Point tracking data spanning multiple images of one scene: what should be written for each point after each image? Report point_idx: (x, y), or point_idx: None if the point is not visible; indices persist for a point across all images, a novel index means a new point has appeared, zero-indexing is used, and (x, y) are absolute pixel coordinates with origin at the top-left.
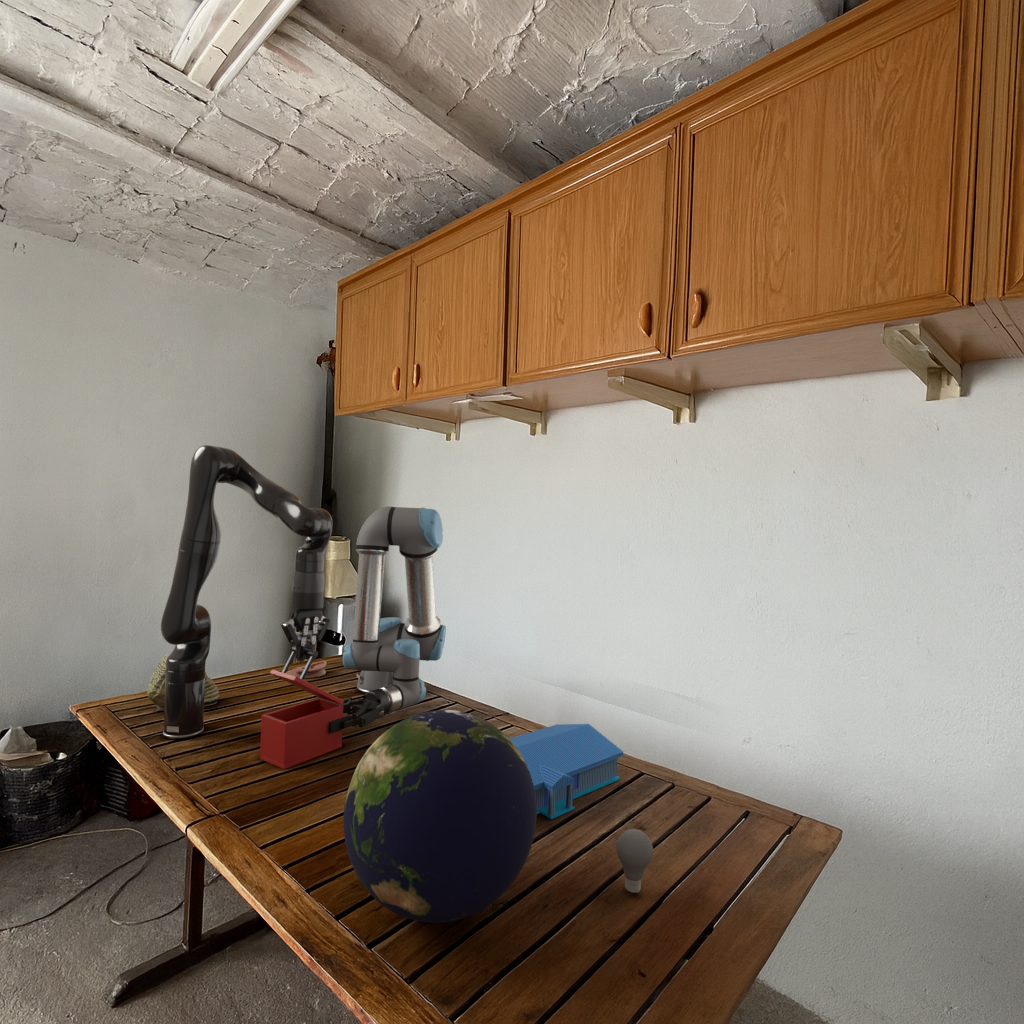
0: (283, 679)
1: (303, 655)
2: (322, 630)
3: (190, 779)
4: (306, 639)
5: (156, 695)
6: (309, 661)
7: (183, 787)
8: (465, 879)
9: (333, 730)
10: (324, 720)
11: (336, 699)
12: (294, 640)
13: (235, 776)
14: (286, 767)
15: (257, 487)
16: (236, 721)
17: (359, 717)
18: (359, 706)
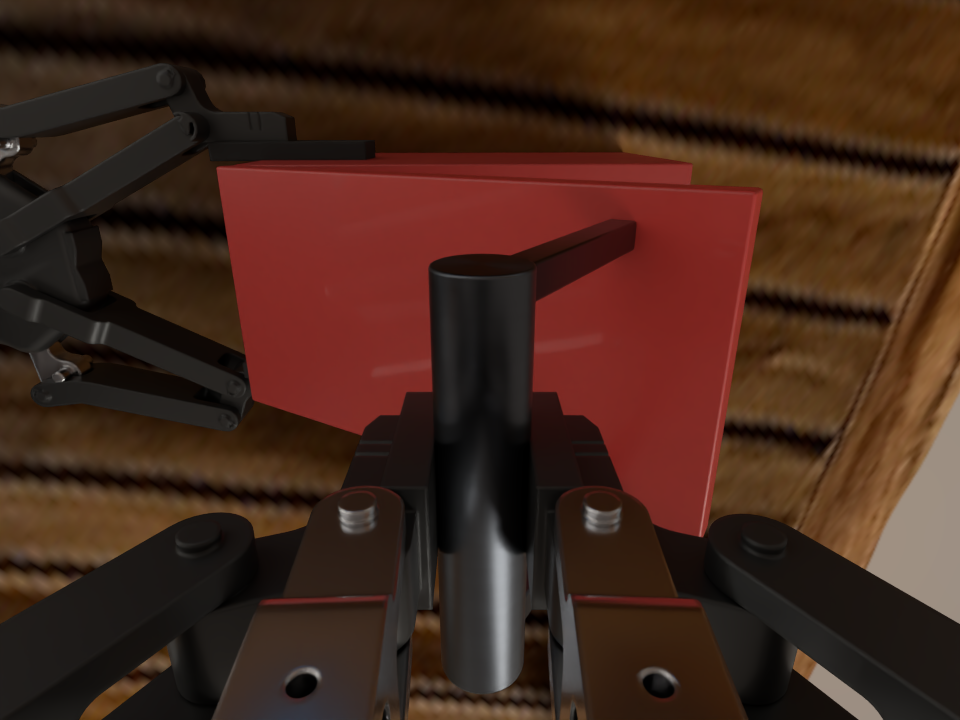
0: None
1: (549, 417)
2: (31, 677)
3: (864, 343)
4: (408, 653)
5: None
6: (558, 265)
7: (922, 304)
8: None
9: (353, 140)
10: (398, 160)
11: (279, 168)
12: (853, 576)
13: (770, 246)
14: (613, 152)
15: None
16: (439, 649)
17: (177, 88)
18: (67, 252)
